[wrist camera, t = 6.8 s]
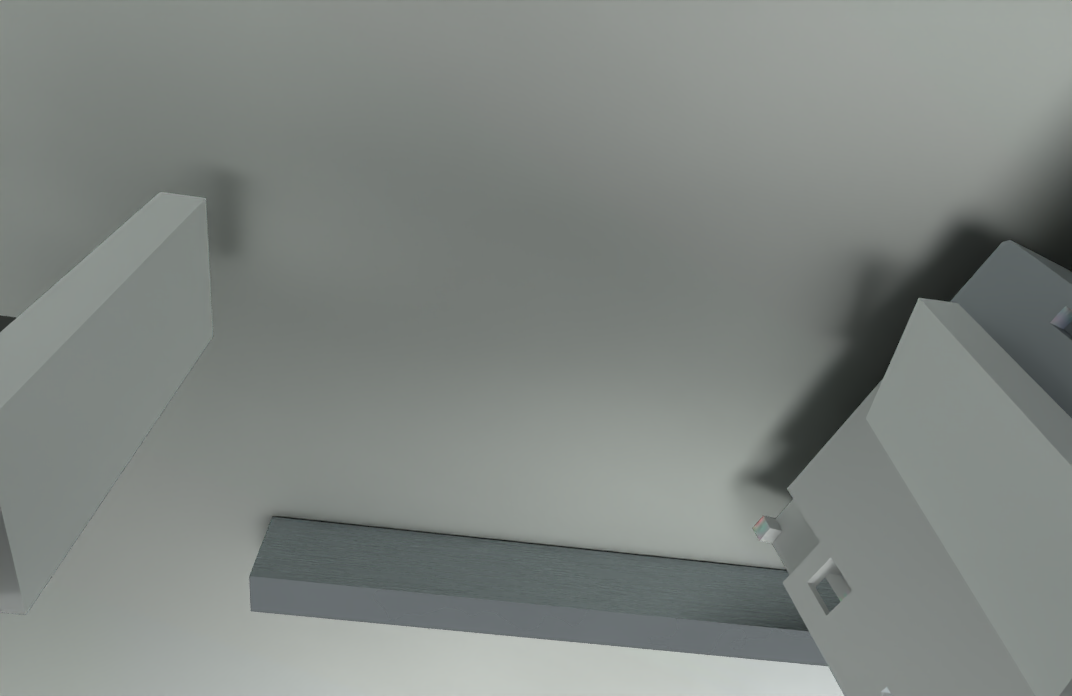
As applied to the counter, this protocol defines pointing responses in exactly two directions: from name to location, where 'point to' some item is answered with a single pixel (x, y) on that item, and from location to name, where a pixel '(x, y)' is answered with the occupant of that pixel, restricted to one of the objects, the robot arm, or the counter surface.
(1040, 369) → the circuit breaker
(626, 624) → the dark grey piece
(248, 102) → the counter surface
